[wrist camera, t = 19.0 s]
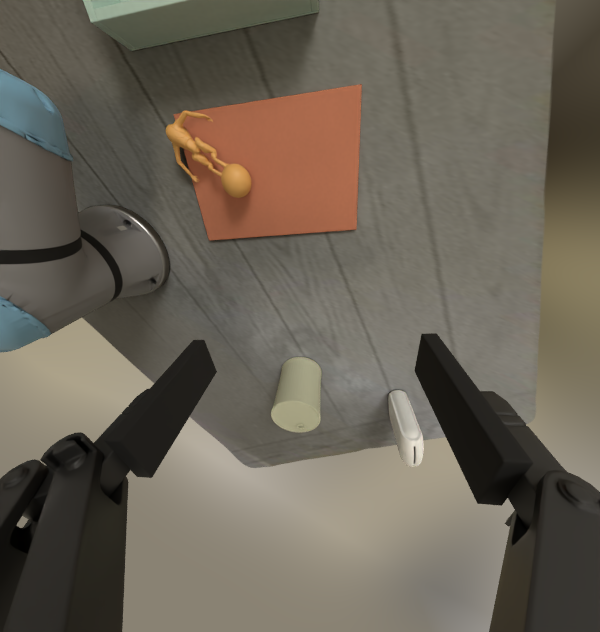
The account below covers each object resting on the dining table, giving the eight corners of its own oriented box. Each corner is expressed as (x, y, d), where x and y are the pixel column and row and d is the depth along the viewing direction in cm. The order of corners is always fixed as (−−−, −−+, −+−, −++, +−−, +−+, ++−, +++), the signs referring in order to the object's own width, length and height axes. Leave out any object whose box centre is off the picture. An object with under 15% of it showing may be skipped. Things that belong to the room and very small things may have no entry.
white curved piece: (406, 417, 54) (426, 473, 44) (388, 418, 55) (403, 473, 44) (406, 388, 49) (428, 443, 39) (386, 389, 50) (403, 444, 40)
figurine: (268, 162, 29) (207, 97, 29) (233, 158, 24) (162, 82, 25) (245, 215, 34) (195, 160, 35) (214, 220, 30) (157, 157, 30)
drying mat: (210, 240, 37) (209, 240, 37) (175, 114, 29) (173, 114, 29) (356, 229, 34) (356, 229, 34) (361, 85, 26) (361, 84, 26)
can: (292, 390, 53) (284, 438, 43) (274, 363, 50) (260, 409, 39) (328, 380, 51) (328, 430, 40) (311, 351, 47) (307, 397, 36)
